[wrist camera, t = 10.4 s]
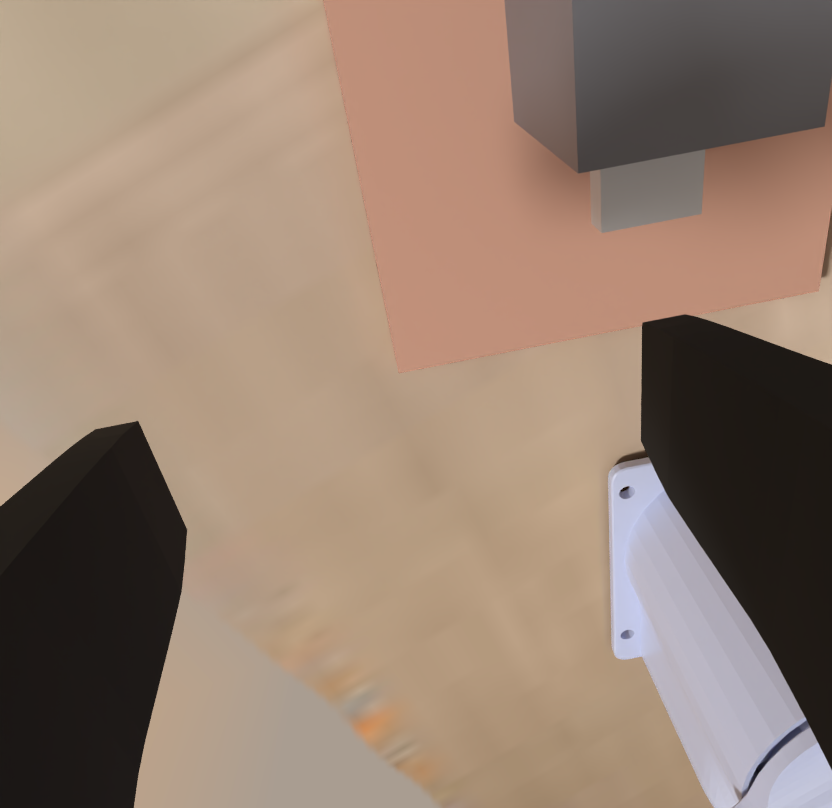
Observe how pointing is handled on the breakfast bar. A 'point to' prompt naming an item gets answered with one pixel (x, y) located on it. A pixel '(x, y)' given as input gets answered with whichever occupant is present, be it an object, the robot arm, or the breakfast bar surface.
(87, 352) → the breakfast bar surface
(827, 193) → the rubber mat
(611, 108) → the grey round-top block
